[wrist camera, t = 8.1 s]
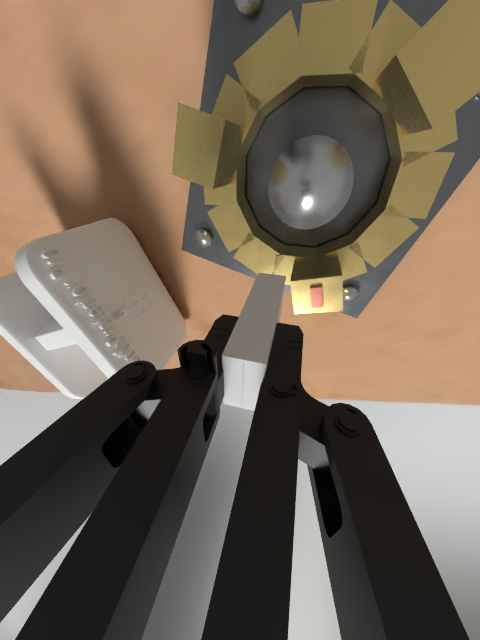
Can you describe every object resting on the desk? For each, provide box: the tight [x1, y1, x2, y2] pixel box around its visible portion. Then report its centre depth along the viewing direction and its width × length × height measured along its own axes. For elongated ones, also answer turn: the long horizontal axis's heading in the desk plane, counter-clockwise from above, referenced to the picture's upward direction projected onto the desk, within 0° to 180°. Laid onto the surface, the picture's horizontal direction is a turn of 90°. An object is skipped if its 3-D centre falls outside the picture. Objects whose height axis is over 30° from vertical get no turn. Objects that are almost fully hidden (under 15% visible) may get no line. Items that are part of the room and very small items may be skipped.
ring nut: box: [172, 0, 480, 314], centre depth 14 cm, size 14×14×7 cm
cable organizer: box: [0, 218, 187, 399], centre depth 25 cm, size 15×11×12 cm
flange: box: [182, 0, 480, 318], centre depth 15 cm, size 18×18×7 cm
